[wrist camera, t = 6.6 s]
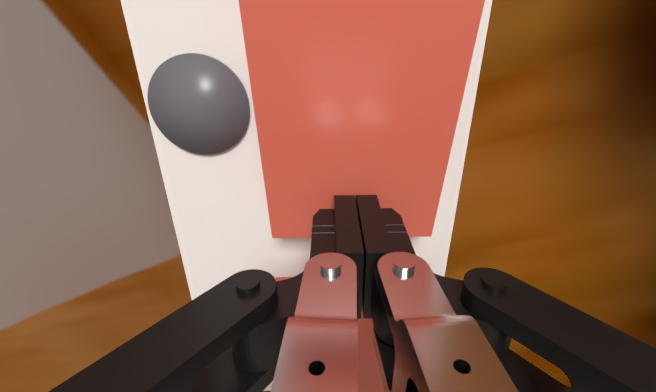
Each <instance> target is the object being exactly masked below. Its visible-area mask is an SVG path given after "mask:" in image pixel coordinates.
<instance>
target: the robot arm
mask: <svg viewBox="0 0 656 392" xmlns="http://www.w3.org/2000/svg"><path fill="white" fill-rule="evenodd" d="M362 310H363V318H372V320H373V326H374V327H373V345H374V349H375V353H376V357H377V362H378V366H379V370H380V374H381V379H382V383H383V387H384V391H385V392H656V349H655V348H653V347H651V346H649V345H647V344H645V343H643V342H641V341H639V340H637V339H635V338H633V337H631V336H629V335H627V334H625V333H623V332H621V331H619V330H617V329H616V328H614V327H612V326H610V325H608V324H606V323H604V322H602V321H600V320H598V319H596V318H594V317H592V316H590V315H588V314H586V313H584V312H582V311H580V310H578V309H576V308H574V307H572V306H570V305H568V304H566V303H564V302H562V301H560V300H558V299H556V298H554V297H552V296H550V295H548V294H546V293H544V292H543V291H541V290H539V289H537V288H535V287H533V286H531V285H529V284H527V283H525V282H523V281H521V280H519V279H517V278H515V277H513V276H511V275H509V274H507V273H505V272H502V271H499V270H496V269H492V268H475V269H472V270H470V271H468V272H467V273H466V274H465V276H464V280H463V281H462V280H457V279H452V278H447V277H443V276H440V275H437V274H435V273H433V272H432V270H431V268H430V266H429V265H428V263H427V262H426V261H425V260H424V259H422V258H421V257H419V256H417V255H416V254H415V251H414V248H413V246H412V243H411V241H410V238H409V236H408V233H407V230H406V228H405V226H404V223H403V220H402V217H401V215H400V214H398V213H397V212H396V211H395V210H394V209H392V208H380V204H379V201H378V197H377V195H356V201H355V195H334V209H319V210H318V211H317V212H316V214H315V215H314V216H313V223H312V237H311V250H310V259H309V260H308V261H307V263H306V265H305V268H304V271H303V272H301V273H300V274H298V275H297V276H294V277H292V278H289V279H285V280H281V281H277V282H276V279H275V278H274V276H273V275H272V274H270V273H269V272H266V271H263V270H258V269H250V270H244V271H240V272H238V273H235V274H233V275H231V276H230V277H228V278H227V279H225V280H223V281H222V282H220V283H219V284H217V285H216V286H214V287H212V288H211V289H209V290H208V291H206V292H205V293H203V294H201V295H200V296H198V297H197V298H195V299H194V300H192V301H190V302H189V303H187V304H186V305H184V306H183V307H181V308H179V309H178V310H176V311H175V312H173V313H172V314H170V315H168V316H167V317H165V318H164V319H162V320H161V321H159V322H157V323H156V324H154V325H153V326H151V327H150V328H148V329H146V330H145V331H143V332H142V333H140V334H139V335H137V336H135V337H134V338H132V339H131V340H129V341H128V342H126V343H124V344H123V345H121V346H120V347H118V348H116V349H115V350H113V351H112V352H110V353H109V354H107V355H105V356H104V357H102V358H101V359H99V360H98V361H96V362H94V363H93V364H91V365H90V366H88V367H87V368H85V369H83V370H82V371H80V372H79V373H77V374H76V375H74V376H72V377H71V378H69V379H68V380H66V381H65V382H63V383H61V384H60V385H58V386H57V387H55V388H54V389H52V390H50V391H49V392H262V391H263V390H264V389H265V388H266V387H267V386H268V385H269V384H270V383H271V382H272V381H273V383H272V387H271V391H270V392H358V322H357V319H361V313H362ZM512 338H513V339H514V340H516V341H518V342H519V343H521V344H522V345H524V346H525V347H527V348H529V349H530V350H532V351H533V352H535V353H536V354H538V355H540V356H541V357H543V358H544V359H546V360H548V361H549V362H551V363H552V364H554V365H555V366H557V367H558V368H560V369H561V370H562V371H563V372H564V373H565V374H566V375H567V377H568V378H569V380H570V383H571V387H568V386H565V385H563V384H562V383H560V382H558V381H557V380H555V379H554V378H552V377H551V376H549V375H548V374H546V373H545V372H543V371H542V370H540V369H539V368H537V367H536V366H534V365H533V364H531V363H530V362H528V361H527V360H525V359H524V358H522V357H521V356H519V355H517V354H516V353H514V352H513V351H511V350H510V349H509V346H510V342H511V339H512ZM222 353H223V354H222ZM206 366H207V367H206Z"/></svg>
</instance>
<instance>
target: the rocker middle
mask: <svg viewBox="0 0 656 392" xmlns="http://www.w3.org/2000/svg"><path fill="white" fill-rule="evenodd" d="M484 3H485V0H239V7H240V14H241V22H242V29H243V36H244V43H245V50H246V57H247V64H248V71H249V78H250V85H251V92H252V99H253V106H254V114H255V121H256V128H257V135H258V142H259V149H260V156H261V163H262V170H263V177H264V184H265V191H266V198H267V206H268V213H269V220H270V227H271V234H272V238H311V237H312V223H313V216H314V215H315V214H316V212H317V211H318V210H319V209H334V195H355V201H356V195H377V197H378V201H379V204H380V208H392V209H394V210H395V211H396V212H397V213H398V214H400V215H401V217H402V220H403V223H404V226H405V228H406V230H407V233H408V236H409V237H431V236H432V231H433V227H434V223H435V218H436V214H437V209H438V205H439V201H440V196H441V192H442V187H443V183H444V179H445V174H446V170H447V165H448V161H449V157H450V152H451V148H452V143H453V139H454V135H455V130H456V126H457V121H458V117H459V113H460V108H461V104H462V99H463V95H464V91H465V86H466V82H467V77H468V73H469V69H470V64H471V60H472V55H473V51H474V47H475V42H476V38H477V34H478V29H479V25H480V20H481V16H482V12H483V7H484Z"/></svg>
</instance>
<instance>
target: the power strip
mask: <svg viewBox="0 0 656 392" xmlns="http://www.w3.org/2000/svg"><path fill="white" fill-rule="evenodd" d="M121 4H122V8H123V12H124V17H125V21H126V25H127V29H128V33H129V38H130V42H131V46H132V50H133V54H134V59H135V63H136V67H137V71H138V75H139V80H140V84H141V88H142V92H143V96H144V101H145V105H146V109H147V113H148V118H149V122H150V126H151V130H152V134H153V138H154V143H155V147H156V151H157V155H158V159H159V164H160V168H161V172H162V176H163V180H164V185H165V189H166V193H167V197H168V202H169V205H170V210H171V214H172V218H173V223H174V226H175V231H176V235H177V239H178V243H179V248H180V252H181V256H182V261H183V265H184V269H185V273H186V277H187V282H188V286H189V290H190V294H191V298H192V300H194V299H195V298H197V297H198V296H200V295H201V294H203V293H205V292H206V291H208V290H209V289H211V288H212V287H214V286H216V285H217V284H219V283H220V282H222V281H223V280H225V279H227V278H228V277H230V276H231V275H233V274H235V273H238V272H240V271H244V270H250V269H258V270H263V271H266V272H269V273H270V274H272V275H273V276H274V278H275V279H276V277H294V276H297V275H298V274H300V273H301V272H303V271H304V268H305V265H306V263H307V261H308V260H309V259H310V250H311V238H272V234H271V227H270V220H269V213H268V206H267V198H266V191H265V184H264V177H263V170H262V163H261V156H260V149H259V142H258V135H257V128H256V121H255V114H254V106H253V99H252V92H251V85H250V78H249V71H248V64H247V57H246V50H245V43H244V36H243V29H242V22H241V14H240V7H239V0H121ZM491 5H492V0H485V3H484V7H483V12H482V16H481V20H480V25H479V29H478V34H477V38H476V42H475V47H474V51H473V55H472V60H471V64H470V69H469V73H468V77H467V82H466V86H465V91H464V95H463V99H462V104H461V108H460V113H459V117H458V121H457V126H456V130H455V135H454V139H453V143H452V148H451V152H450V157H449V161H448V165H447V170H446V174H445V179H444V183H443V187H442V192H441V196H440V201H439V205H438V209H437V214H436V218H435V223H434V227H433V231H432V236H431V237H409V238H410V241H411V243H412V246H413V248H414V251H415V254H416V255H417V256H419V257H421V258H422V259H424V260H425V261H426V262H427V263H428V265H429V266H430V268H431V270H432V272H433V273H435V274H437V275H440V276H443V277H444V275H445V270H446V264H447V258H448V252H449V247H450V241H451V235H452V229H453V224H454V218H455V212H456V206H457V201H458V195H459V189H460V183H461V178H462V172H463V166H464V160H465V155H466V149H467V143H468V138H469V132H470V126H471V120H472V115H473V109H474V103H475V97H476V92H477V86H478V80H479V74H480V69H481V63H482V57H483V51H484V46H485V40H486V34H487V28H488V23H489V17H490V11H491ZM222 354H223V353H222ZM272 383H273V381H272V382H271V383H270V384H269V385H268V386H267V387H266V388H265V389H264V390H263V391H271V387H272Z"/></svg>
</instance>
